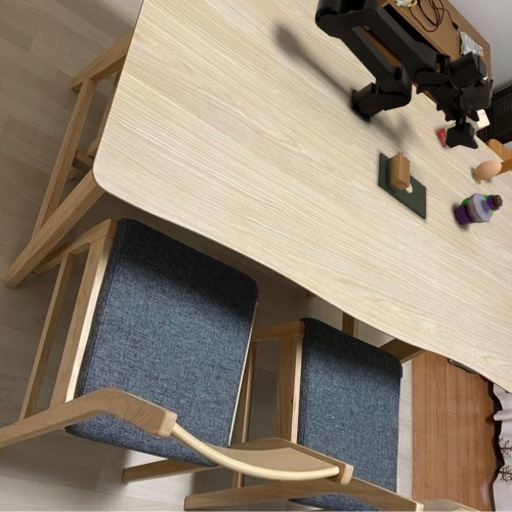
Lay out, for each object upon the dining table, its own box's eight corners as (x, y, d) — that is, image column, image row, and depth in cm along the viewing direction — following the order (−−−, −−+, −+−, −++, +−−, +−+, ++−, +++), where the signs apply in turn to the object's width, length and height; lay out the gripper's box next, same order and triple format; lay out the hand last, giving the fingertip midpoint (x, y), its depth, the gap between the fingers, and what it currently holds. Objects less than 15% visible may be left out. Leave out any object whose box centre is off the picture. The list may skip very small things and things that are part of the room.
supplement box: (485, 180, 176) (516, 167, 169) (481, 170, 177) (512, 156, 170) (489, 179, 179) (520, 166, 172) (485, 169, 179) (516, 155, 172)
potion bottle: (450, 196, 158) (490, 178, 150) (468, 210, 163) (508, 194, 154) (450, 221, 154) (492, 205, 146) (469, 236, 158) (510, 220, 150)
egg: (481, 185, 174) (507, 174, 168) (472, 182, 170) (498, 170, 165) (477, 169, 175) (502, 157, 169) (468, 166, 172) (494, 154, 166)
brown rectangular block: (385, 185, 138) (399, 178, 135) (386, 159, 142) (399, 152, 139) (396, 193, 140) (409, 186, 137) (397, 167, 144) (410, 160, 141)
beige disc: (402, 189, 142) (404, 188, 142) (403, 180, 144) (405, 179, 143) (410, 195, 144) (412, 194, 143) (410, 186, 145) (412, 185, 145)
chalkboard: (378, 185, 137) (380, 184, 136) (379, 153, 142) (381, 152, 141) (424, 219, 145) (426, 218, 145) (424, 188, 150) (426, 187, 150)
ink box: (443, 147, 165) (480, 128, 157) (435, 131, 165) (472, 111, 157) (454, 142, 171) (491, 124, 163) (447, 127, 171) (483, 108, 163)
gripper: (476, 108, 124) (509, 151, 133) (479, 51, 134) (509, 94, 142) (430, 127, 132) (464, 166, 140) (436, 72, 141) (467, 112, 150)
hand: (477, 134), depth 143 cm, fingers open, 9 cm apart
